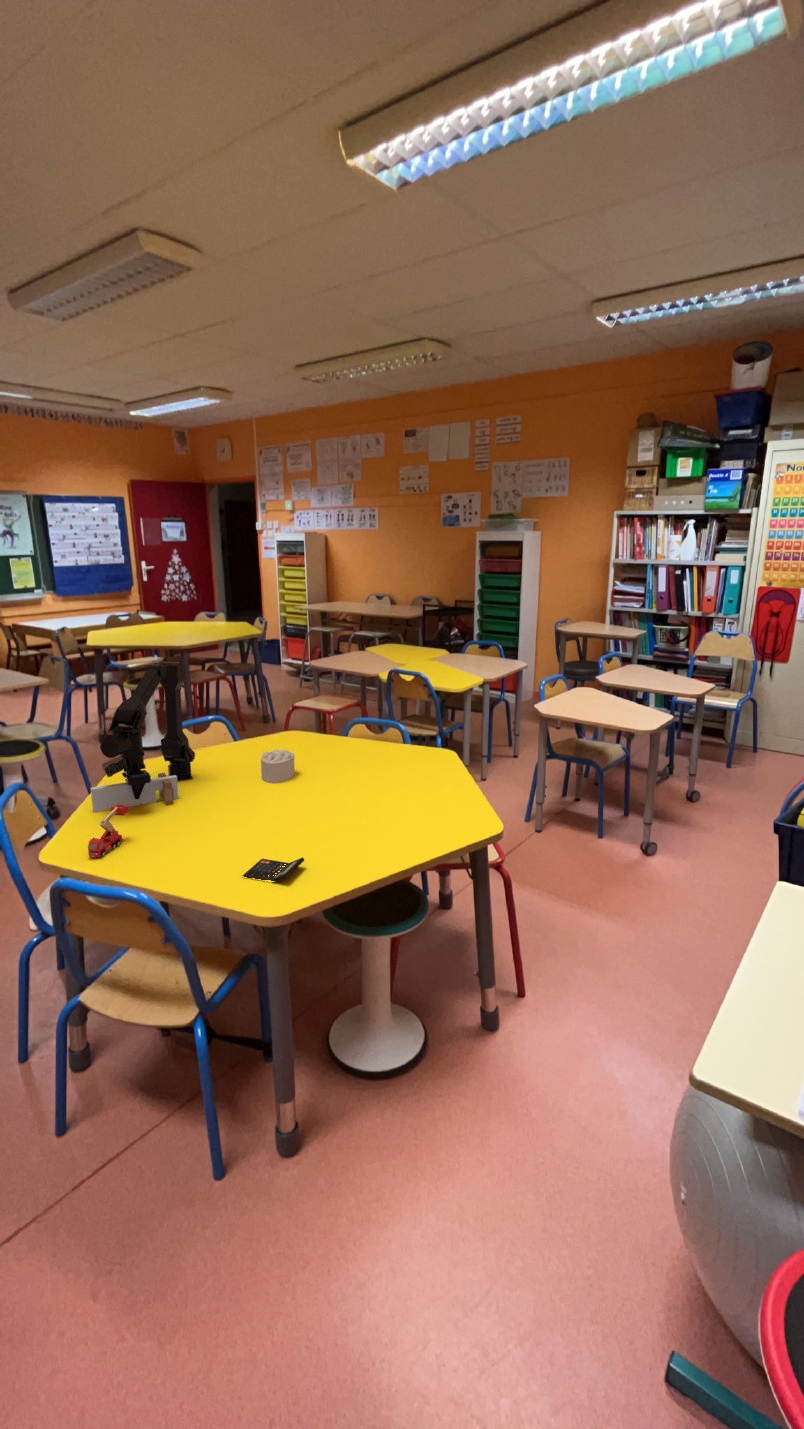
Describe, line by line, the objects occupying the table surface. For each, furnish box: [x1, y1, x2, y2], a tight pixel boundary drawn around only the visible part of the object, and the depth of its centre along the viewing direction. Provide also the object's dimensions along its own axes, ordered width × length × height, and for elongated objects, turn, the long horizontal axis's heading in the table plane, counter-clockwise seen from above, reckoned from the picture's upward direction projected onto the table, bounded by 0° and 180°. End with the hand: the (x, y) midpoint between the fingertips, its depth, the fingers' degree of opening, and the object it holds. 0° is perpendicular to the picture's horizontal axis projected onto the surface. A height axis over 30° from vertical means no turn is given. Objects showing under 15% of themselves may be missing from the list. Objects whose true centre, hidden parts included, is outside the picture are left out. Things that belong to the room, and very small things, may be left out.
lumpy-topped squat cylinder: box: [260, 749, 296, 784], centre depth 222 cm, size 10×13×9 cm
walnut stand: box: [157, 772, 174, 806], centre depth 200 cm, size 10×2×7 cm, turn 31°
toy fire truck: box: [87, 805, 130, 859], centre depth 166 cm, size 3×14×10 cm, turn 169°
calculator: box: [242, 857, 305, 882], centre depth 156 cm, size 9×12×3 cm
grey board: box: [90, 775, 179, 813], centre depth 196 cm, size 24×2×7 cm, turn 121°
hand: (136, 797), depth 196 cm, fingers closed on grey board, 2 cm apart
